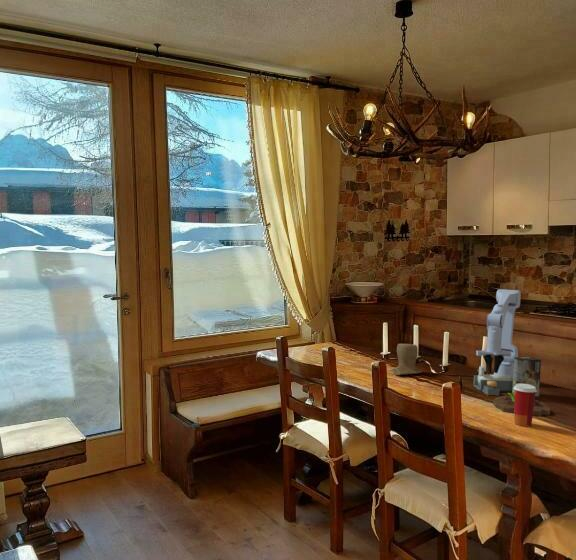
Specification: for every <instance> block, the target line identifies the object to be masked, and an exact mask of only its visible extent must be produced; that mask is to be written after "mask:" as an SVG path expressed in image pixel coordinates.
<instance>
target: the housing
mask: <svg viewBox="0 0 576 560" xmlns="http://www.w3.org/2000/svg"><path fill="white" fill-rule="evenodd" d="M478 375H479V374H478ZM478 375H473V387H474V388H475V387H476V388H475V389H477V391H479V390H480V391H479V392H482V393H483V392H484V393H483V394H485V395H486V394H487V395H486V396H488V395H491V397H493V396H492V395H495V396H496V397H500V393H512V390H513V378H511V377H510V378H511V380H482V379H480V386H479V385H478V380H477V379H478ZM487 381H496V382H497V386H496V387H494V388H489V386H488V385H487ZM500 391H501V392H500Z"/></svg>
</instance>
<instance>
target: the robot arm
mask: <svg viewBox="0 0 576 560" xmlns="http://www.w3.org/2000/svg"><path fill="white" fill-rule="evenodd" d="M521 293H522V292H521V291H520V290H519V289H517V290H516V289H504V288H503V289H501V288H498V289H497V291H496V295H495V299H496V302H497V304H495V305H494V306H493V308H492V311H491V312H490V313H488V314H487V317H486V330H487V343H486V349H483V350H482V349H481V350H476V351H475V352H476V353H475V355H476V356H477V357H480V356H482V358H483V359H484V361H485V362H484V363H485V364H486V365H485V366H486V369H487V373H489V374H491V373H492V364H493V363H494V364H493V365H494V367H493V375H509V376H510V377H511V378H513V371H514V357H519V353H518V352H519V350H518V347H517V346H516V345H515V344H514V343H513V335H514V334H513V333H514V324H515V323H514V321H515V312H516V310H517V309H518V308H520V306H521V298H522V295H521Z"/></svg>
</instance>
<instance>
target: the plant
mask: <svg viewBox="0 0 576 560" xmlns="http://www.w3.org/2000/svg"><path fill="white" fill-rule="evenodd" d="M518 383H520V384H521V382H520V381H515V382H514V383H513V384H514V385H516V384H518ZM536 390H537V392H538V389H537V388H536ZM537 392H536V393H537ZM507 394H508V395H501V396H500V395H499V396H496V397H495V398H494V400H493V405H494V407H496V408H495V409H498V410H500V411H501V412H503V413H506V414H507V413H508V414H514V392H507ZM550 415H551V408H550V407H549V406H547V405H546V403H544V402H542V401H539V400H537V399H535V402H534V409H533V416H536V417H541V416H550Z"/></svg>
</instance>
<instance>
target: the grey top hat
mask: <svg viewBox="0 0 576 560" xmlns="http://www.w3.org/2000/svg"><path fill="white" fill-rule="evenodd" d="M396 353H397V359H398V360H397V361H398V365H397V366H396V367H393V368H391V371H392V373H393V374H394V375H395V376H407V375H408V374H409V375H414V374H421V373H422V372H423V371H422V370H420V369H418V368H417V367H416V361H417V358H418V353H419V352H418V346H417V344H411V343H398V344H397V346H396Z"/></svg>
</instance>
